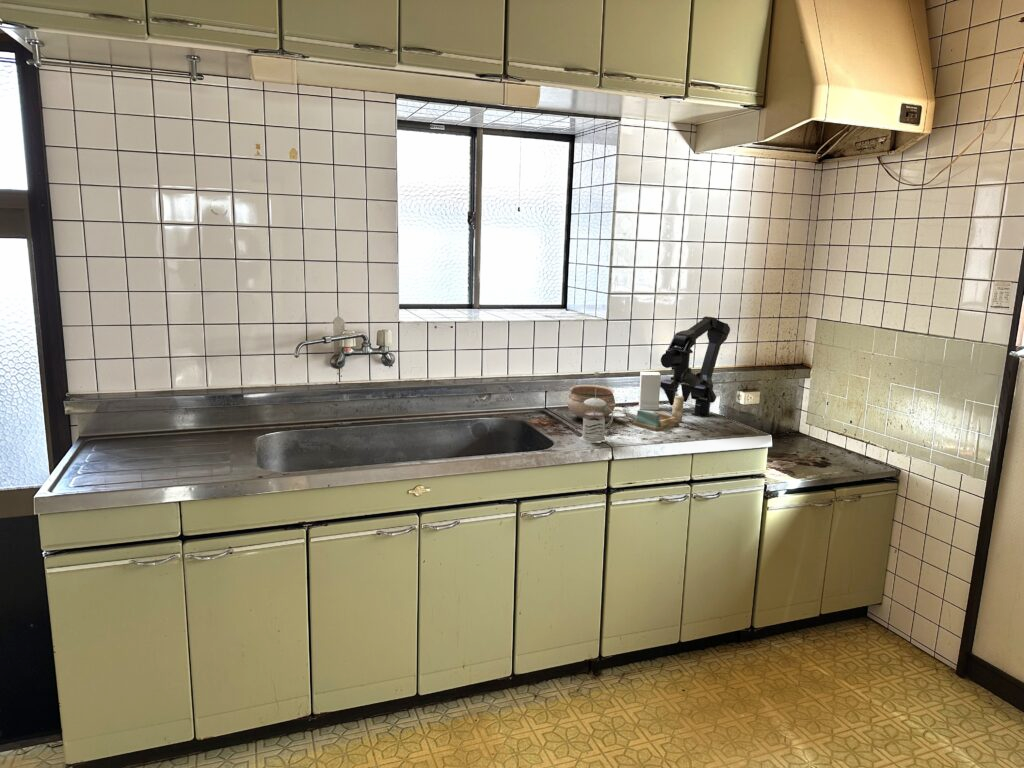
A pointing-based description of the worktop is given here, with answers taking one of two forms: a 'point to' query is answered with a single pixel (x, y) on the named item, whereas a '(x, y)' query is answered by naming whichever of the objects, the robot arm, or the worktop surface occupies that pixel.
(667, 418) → the cradle
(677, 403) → the peg
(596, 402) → the french press
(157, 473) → the worktop surface
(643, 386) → the skincare box
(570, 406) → the cooking pot
